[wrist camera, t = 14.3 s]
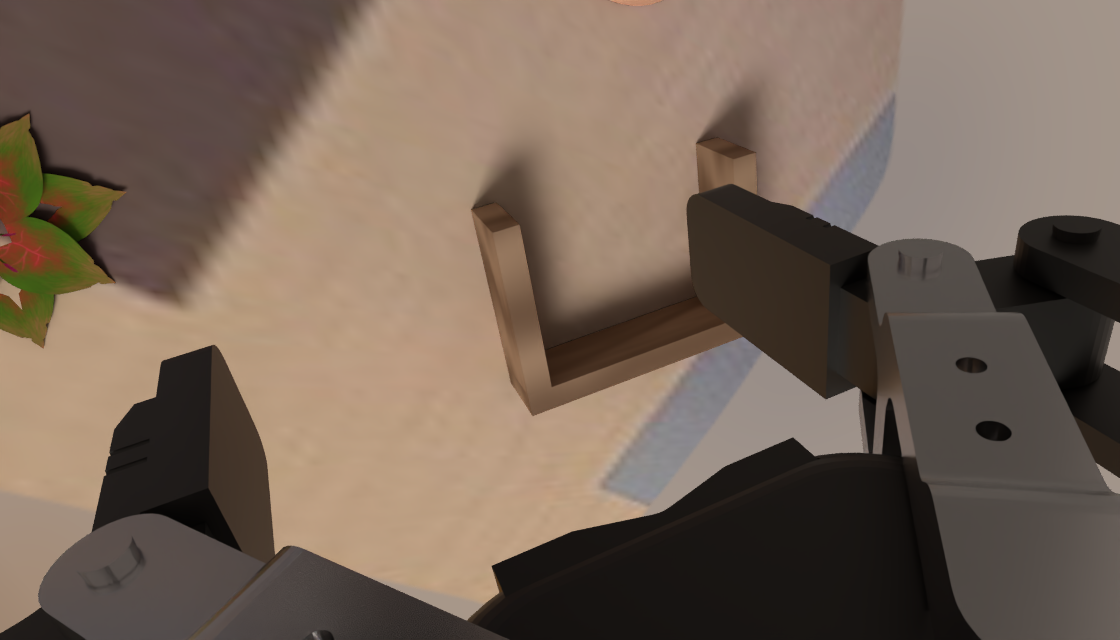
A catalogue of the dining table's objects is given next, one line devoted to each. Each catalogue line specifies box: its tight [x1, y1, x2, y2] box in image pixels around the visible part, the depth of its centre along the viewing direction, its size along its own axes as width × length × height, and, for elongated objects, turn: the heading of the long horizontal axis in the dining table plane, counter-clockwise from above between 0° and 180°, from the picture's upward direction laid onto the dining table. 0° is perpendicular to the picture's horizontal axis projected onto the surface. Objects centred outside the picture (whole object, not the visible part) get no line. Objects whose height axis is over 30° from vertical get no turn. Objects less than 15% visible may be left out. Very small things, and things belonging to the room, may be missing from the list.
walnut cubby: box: [471, 137, 757, 416], centre depth 45 cm, size 12×16×4 cm
